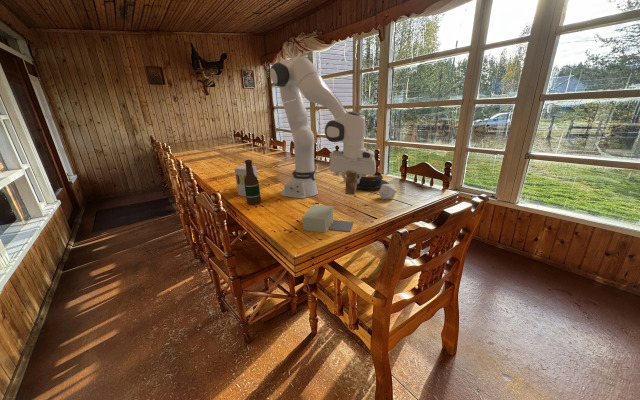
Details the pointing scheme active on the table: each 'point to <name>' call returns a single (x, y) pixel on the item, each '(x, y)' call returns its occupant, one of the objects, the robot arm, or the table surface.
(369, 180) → the casserole
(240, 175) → the supplement box
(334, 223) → the mat
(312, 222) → the step
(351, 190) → the walnut block
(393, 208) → the table surface
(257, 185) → the beer bottle
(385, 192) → the die
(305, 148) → the robot arm
